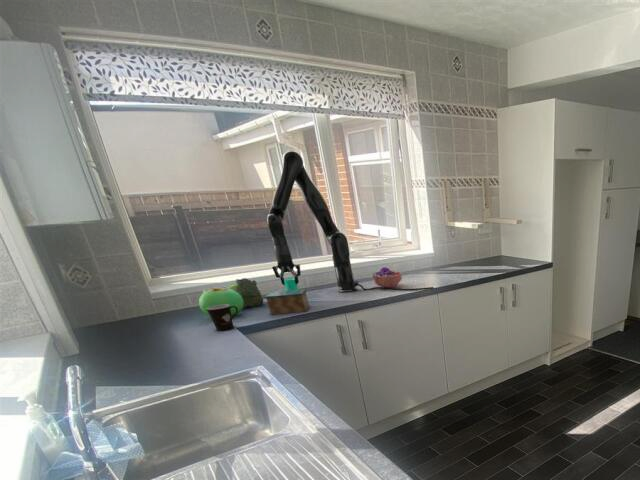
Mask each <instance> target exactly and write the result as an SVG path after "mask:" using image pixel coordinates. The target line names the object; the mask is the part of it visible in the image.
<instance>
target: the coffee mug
mask: <svg viewBox="0 0 640 480" xmlns="http://www.w3.org/2000/svg"><path fill="white" fill-rule="evenodd" d="M232 307H234V308H236V313H235V315H233V316H231V311H230V309H231V308H232ZM206 309H207V311H208V313H209V315H210V316H209V315H208V316H209V317H210V319H211V321H212V323H213V325H214V327H215V329H216V331H217V332H226V331H230V330H233V329H234V322H233V320H234V319H235V317H236V316H237V314H238V313H237V312H238V309H237V307H235V306H231V307H230V305H228V304H222V305H214V306H210V307H208V308H206Z"/></svg>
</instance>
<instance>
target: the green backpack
mask: <svg viewBox="0 0 640 480" xmlns="http://www.w3.org/2000/svg"><path fill="white" fill-rule="evenodd" d="M235 281H236V283H235V284H238V286H237V287H236V288H235V289H234V291H236V292H238V293H239V294H240V295H241V297H242V298H243V302H244V305H243V308H242V310H244V309H245V308H247V307H250V308H257V307H260V306H262V305H263V304H264V298H263V296H262V293H261V290H260V289H259V287H258V286H257V285H258V282H257V281H256V280H255V279H254V280H250V279H249V278H247V277H244V278H241V279H237V278H236V279H235Z"/></svg>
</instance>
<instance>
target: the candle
mask: <svg viewBox="0 0 640 480" xmlns="http://www.w3.org/2000/svg"><path fill="white" fill-rule="evenodd" d="M284 283H285V285H284V287H285V291H288V290H299V286H298V284H296V282H295V277H288V278H284Z"/></svg>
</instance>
